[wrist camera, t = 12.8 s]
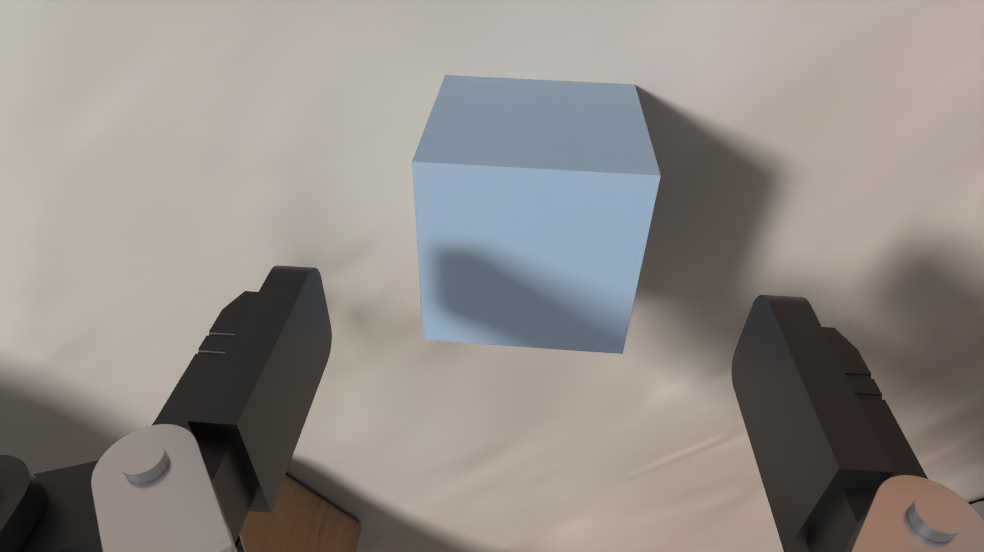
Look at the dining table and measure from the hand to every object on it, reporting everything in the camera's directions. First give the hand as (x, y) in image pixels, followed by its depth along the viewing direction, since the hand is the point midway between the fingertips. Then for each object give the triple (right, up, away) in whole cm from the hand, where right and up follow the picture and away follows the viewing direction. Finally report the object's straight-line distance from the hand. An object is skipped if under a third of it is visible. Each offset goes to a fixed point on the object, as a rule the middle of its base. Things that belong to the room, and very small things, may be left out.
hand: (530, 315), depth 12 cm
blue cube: (0, +4, +6) cm, 7 cm away
